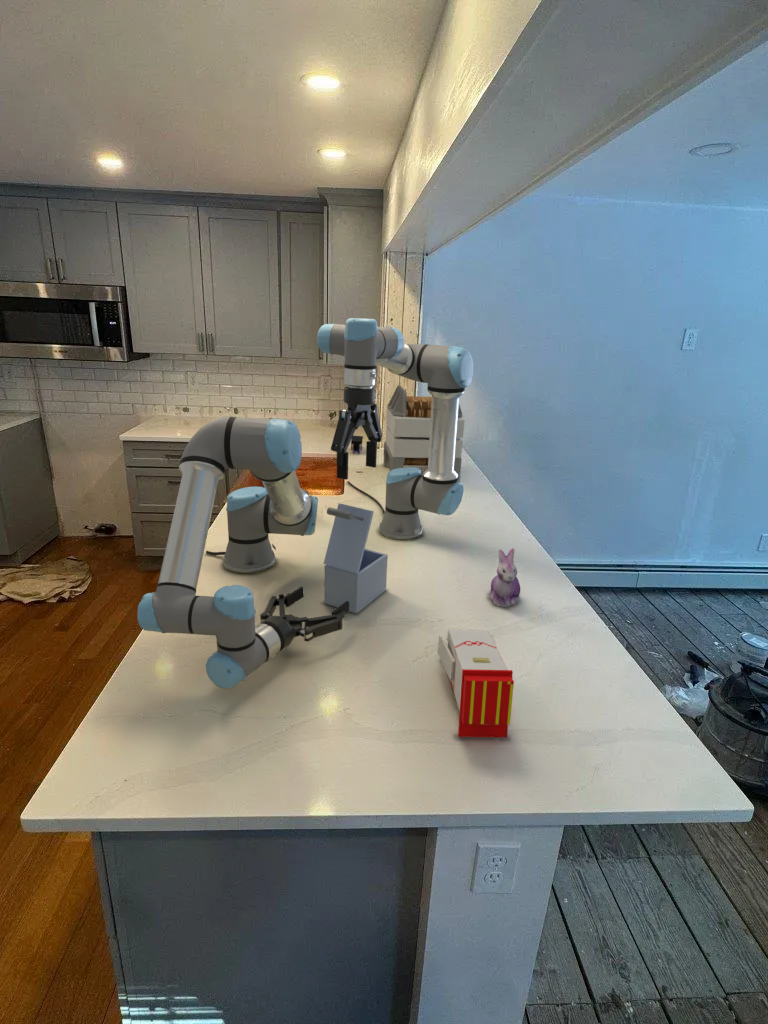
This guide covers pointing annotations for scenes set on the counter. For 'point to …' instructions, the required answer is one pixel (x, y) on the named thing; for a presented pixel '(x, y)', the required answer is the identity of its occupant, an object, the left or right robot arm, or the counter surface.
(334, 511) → the lid
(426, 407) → the white slatted crate
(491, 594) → the figurine
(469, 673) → the toy
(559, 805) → the counter surface
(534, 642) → the counter surface
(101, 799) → the counter surface
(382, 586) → the chest
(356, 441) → the figurine character
